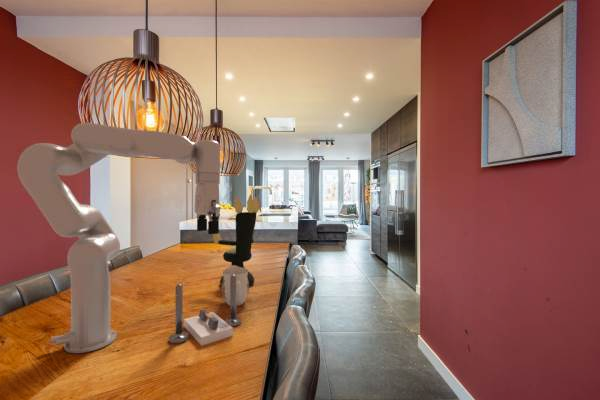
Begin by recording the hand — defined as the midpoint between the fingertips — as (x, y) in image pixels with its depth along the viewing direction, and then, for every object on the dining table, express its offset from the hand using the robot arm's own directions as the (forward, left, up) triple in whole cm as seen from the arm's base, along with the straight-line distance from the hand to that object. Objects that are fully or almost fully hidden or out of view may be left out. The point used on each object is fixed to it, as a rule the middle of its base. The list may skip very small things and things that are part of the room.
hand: (207, 232), depth 94 cm
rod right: (+9, 0, -32) cm, 34 cm away
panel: (0, 0, -32) cm, 32 cm away
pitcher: (+18, +16, -32) cm, 40 cm away
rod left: (-9, 0, -32) cm, 34 cm away
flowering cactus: (+31, +37, -32) cm, 59 cm away
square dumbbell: (0, 0, -30) cm, 30 cm away
